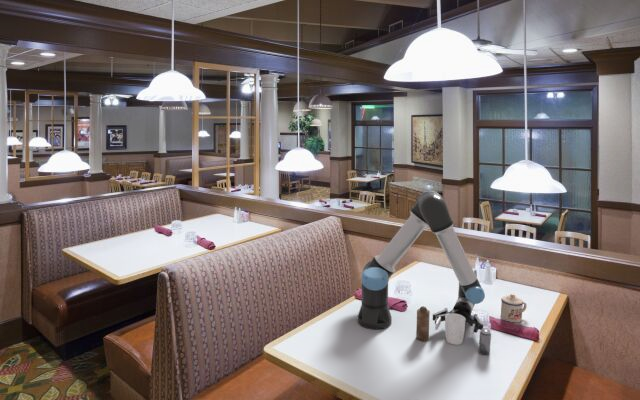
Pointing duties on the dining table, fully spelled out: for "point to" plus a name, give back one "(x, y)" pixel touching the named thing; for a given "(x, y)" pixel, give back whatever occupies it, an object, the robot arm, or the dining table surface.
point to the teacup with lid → (512, 308)
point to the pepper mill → (422, 324)
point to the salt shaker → (484, 342)
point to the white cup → (454, 328)
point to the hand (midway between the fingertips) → (453, 330)
